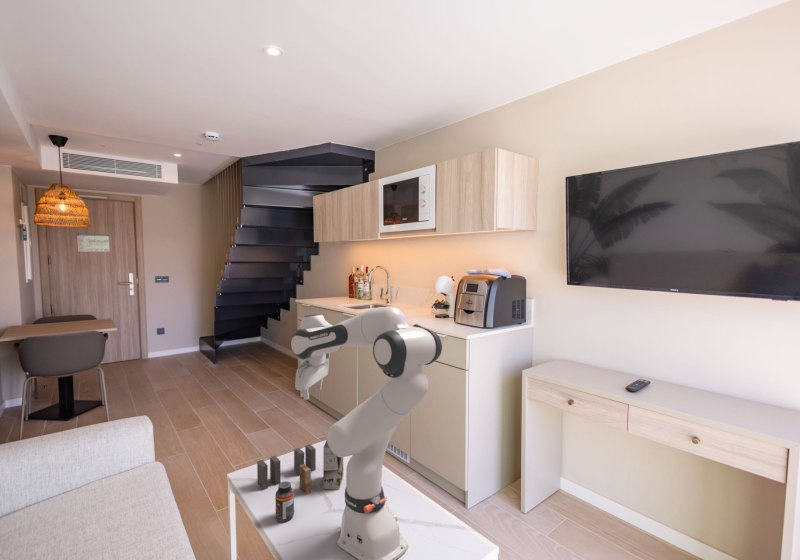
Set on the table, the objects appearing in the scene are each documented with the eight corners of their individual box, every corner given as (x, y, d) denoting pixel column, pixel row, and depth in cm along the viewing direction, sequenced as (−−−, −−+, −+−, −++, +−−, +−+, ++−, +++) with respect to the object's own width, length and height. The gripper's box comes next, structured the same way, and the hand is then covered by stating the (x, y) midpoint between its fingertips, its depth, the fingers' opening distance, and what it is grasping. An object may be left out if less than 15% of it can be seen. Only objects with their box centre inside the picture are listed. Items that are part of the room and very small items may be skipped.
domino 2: (280, 483, 151) (280, 460, 151) (275, 485, 150) (275, 462, 149) (275, 477, 155) (275, 455, 154) (270, 479, 154) (270, 457, 153)
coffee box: (339, 489, 147) (339, 447, 146) (322, 489, 148) (322, 447, 147) (343, 476, 156) (343, 436, 156) (327, 475, 157) (327, 436, 156)
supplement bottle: (272, 516, 132) (272, 483, 131) (289, 508, 136) (289, 477, 135) (280, 525, 128) (279, 491, 127) (297, 517, 131) (296, 484, 131)
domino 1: (267, 488, 148) (267, 465, 147) (262, 490, 147) (262, 466, 146) (262, 482, 152) (262, 459, 151) (257, 484, 150) (257, 461, 150)
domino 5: (310, 493, 145) (310, 469, 145) (305, 495, 144) (305, 471, 143) (304, 487, 149) (304, 463, 148) (299, 489, 148) (299, 465, 147)
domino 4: (315, 469, 161) (315, 448, 160) (311, 471, 160) (311, 450, 159) (309, 465, 165) (309, 444, 164) (305, 466, 163) (305, 445, 163)
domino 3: (304, 474, 158) (304, 452, 157) (299, 476, 156) (299, 454, 156) (298, 469, 161) (298, 447, 161) (294, 470, 160) (294, 449, 160)
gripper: (307, 366, 134) (307, 405, 135) (331, 351, 154) (331, 386, 155) (290, 364, 135) (290, 403, 136) (316, 350, 155) (316, 385, 156)
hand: (312, 394), depth 146 cm, fingers open, 8 cm apart
